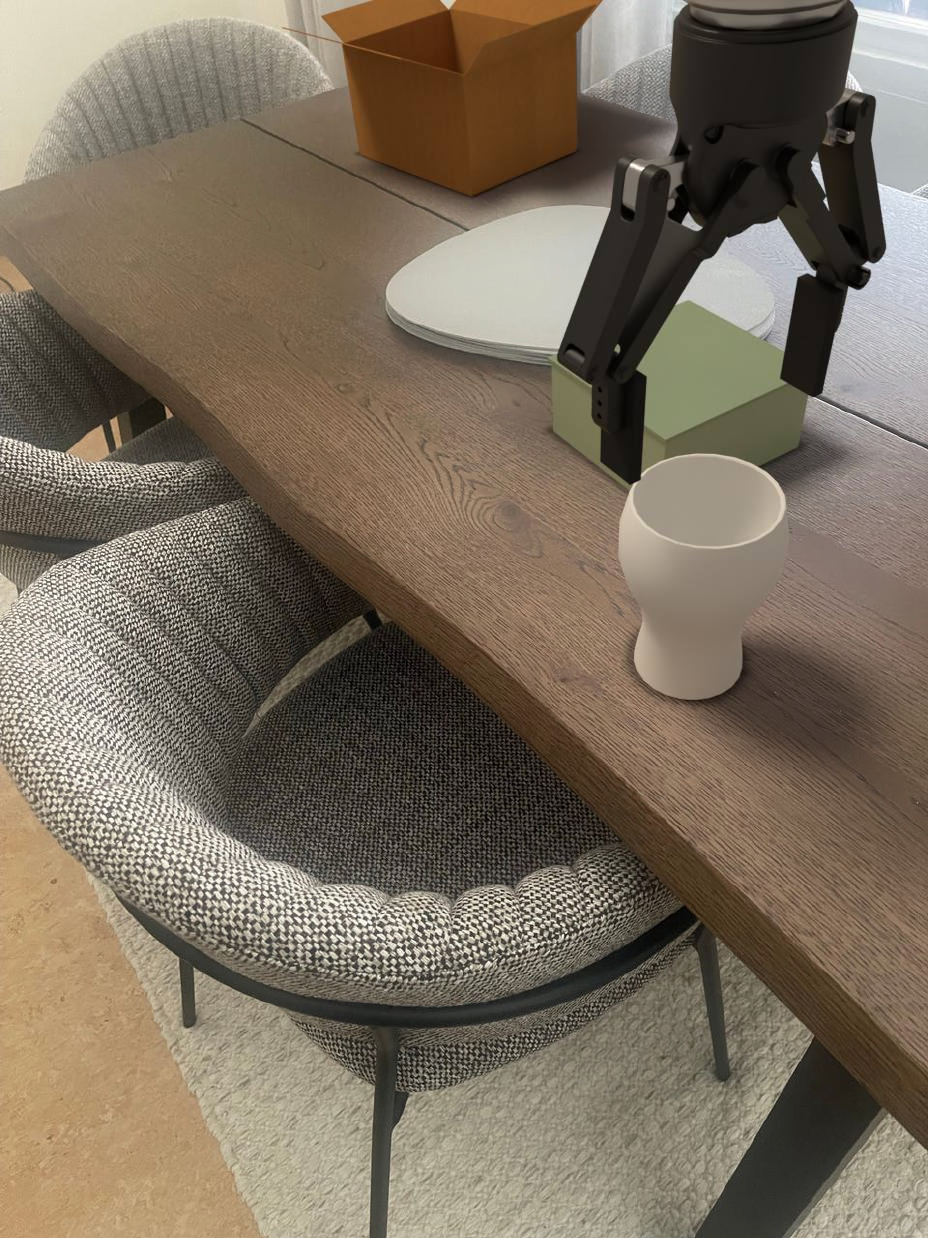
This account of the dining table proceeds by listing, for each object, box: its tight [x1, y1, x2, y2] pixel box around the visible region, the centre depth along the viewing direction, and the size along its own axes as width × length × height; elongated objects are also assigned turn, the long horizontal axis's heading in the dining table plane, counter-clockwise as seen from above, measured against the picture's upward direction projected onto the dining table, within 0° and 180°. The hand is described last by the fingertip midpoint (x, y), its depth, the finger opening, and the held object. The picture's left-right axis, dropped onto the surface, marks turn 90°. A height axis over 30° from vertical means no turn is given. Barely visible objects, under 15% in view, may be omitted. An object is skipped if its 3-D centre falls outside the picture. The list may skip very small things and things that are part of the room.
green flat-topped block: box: [547, 299, 809, 492], centre depth 85 cm, size 16×16×8 cm
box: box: [281, 0, 604, 197], centre depth 137 cm, size 39×37×21 cm
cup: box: [617, 454, 791, 701], centre depth 63 cm, size 11×11×15 cm
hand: (713, 427), depth 54 cm, fingers open, 13 cm apart
